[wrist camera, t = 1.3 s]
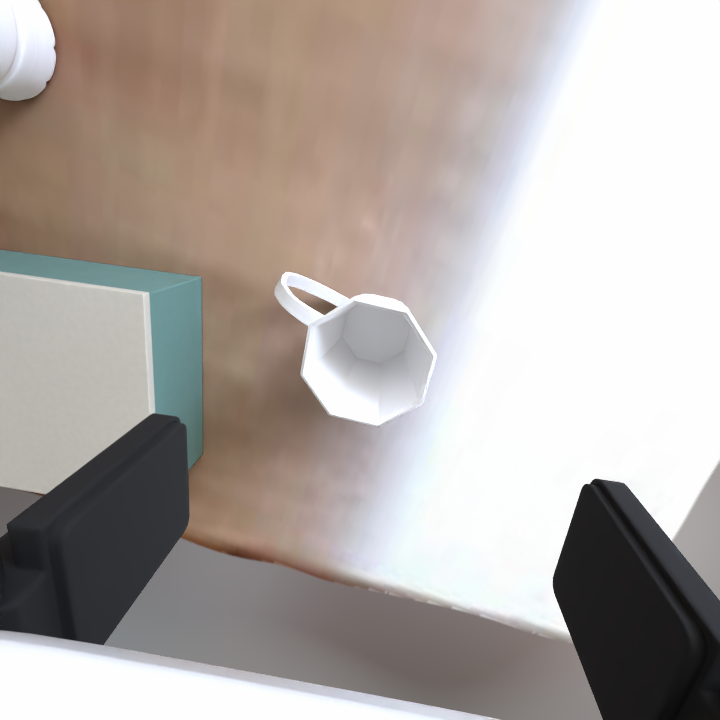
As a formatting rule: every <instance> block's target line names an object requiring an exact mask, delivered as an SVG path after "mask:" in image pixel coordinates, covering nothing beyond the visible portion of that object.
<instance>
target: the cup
mask: <svg viewBox="0 0 720 720" xmlns="http://www.w3.org/2000/svg"><path fill="white" fill-rule="evenodd" d="M287 286H293V287H296V288H298V289H301V290H304V291H306V292H308V293H311V294H313V295H315V296H317V297H320V298H322V299H324V300H326V301H328V302H330V303H332V304H334V305H336V306H337V308H335V309H334V310H332V311H331V312H329V313H327V314H326V315H322V314H321V313H319V312H317V311H315V310H314V309H312V308H311V307H309V306H307V305H306V304H304V303H303V302H301V301H300V300H298V299H297V298H296V297H295V296H294V295H293V294H292V292H291V291H290V289H289V288H288V287H287ZM274 295H275V296H276V298H277V299H278V301H279V303H280V304H281V305H282V306H283V307H284V308H285V309H286V310H287V311H288V312H289V313H290V314H292V315H293V316H294V317H296V318H297V319H299V320H300V321H301V322H303V323H304V324H306V325H307V326H308V332H307V338H306V343H305V349H304V355H303V360H302V366H301V372H300V375H301V377H302V378H303V380H304V381H305V382H306V384H307V385H308V387H309V388H310V389H311V391H312V392H313V394H314V395H315V396H316V398H317V399H318V401H319V402H320V403H321V405H322V406H323V408H324V409H325V410H326V412H327V413H328V415H329V416H333V417H337V418H342V419H346V420H350V421H354V422H358V423H362V424H366V425H370V426H375V427H380V426H382V425H384V424H386V423H388V422H390V421H392V420H394V419H396V418H397V417H399V416H401V415H403V414H405V413H407V412H409V411H411V410H413V409H415V408H416V407H418V406H420V405H422V404H423V402H424V399H425V396H426V392H427V389H428V385H429V382H430V378H431V375H432V372H433V368H434V365H435V361H436V358H437V354H436V353H435V351H434V350H433V348H432V346H431V345H430V343H429V341H428V340H427V338H426V337H425V335H424V333H423V332H422V330H421V329H420V327H419V325H418V324H417V322H416V320H415V319H414V317H413V316H412V314H411V312H410V311H409V309H408V308H407V307H406V306H405V305H404V304H403V303H402V302H400V301H397V300H395V299H391V298H387V297H383V296H378V295H374V294H371V295H370V294H363V295H359V296H355V297H353V298H351V299H350V300H349V299H348V298H346V297H345V296H343V295H341V294H339V293H337V292H336V291H334V290H332V289H330V288H328V287H326V286H324V285H322V284H320V283H317V282H315V281H313V280H311V279H309V278H307V277H304V276H301V275H299V274H296V273H289V272H286V273H284V274H283V275H282V277H281V278H280V280H279V282H278V283H277V285H276V286H275V292H274Z"/></svg>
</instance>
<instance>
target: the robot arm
mask: <svg viewBox="0 0 720 720" xmlns="http://www.w3.org/2000/svg"><path fill="white" fill-rule="evenodd" d="M188 521H189V486H188V454H187V428H186V425H185V424H183V423H181V421H180V419H179V418H178V417H177V416H170V415H164V414H157V413H153V414H151V415H149V416H148V417H147V418H145V419H144V420H143V421H141V422H140V423H139V424H137V425H136V426H135V427H133V428H132V429H131V430H130V431H128V432H127V433H126V434H124V435H123V436H122V437H120V438H119V439H118V440H116V441H115V442H114V443H113V444H111V445H110V446H109V447H107V448H106V449H105V450H103V451H102V452H101V453H99V454H98V455H97V456H95V457H94V458H93V459H92V460H90V461H89V462H88V463H86V464H85V465H84V466H82V467H81V468H80V469H78V470H77V471H76V472H75V473H73V474H72V475H71V476H69V477H68V478H67V479H65V480H64V481H63V482H61V483H60V484H59V485H57V486H56V487H55V488H54V489H52V490H51V491H50V492H48V493H47V494H46V495H44V496H43V497H42V498H40V499H39V500H38V501H37V502H35V503H34V504H33V505H31V506H30V507H29V508H28V509H26V510H25V511H23V512H22V513H21V514H20V515H18V516H17V517H16V518H14V519H13V520H12V521H10V522H9V523H8V524H7V529H8V532H7V533H6V534H5V535H4V536H2V537H1V538H0V720H500V719H495V718H490V717H485V716H480V715H474V714H469V713H464V712H459V711H454V710H449V709H444V708H439V707H433V706H428V705H423V704H418V703H412V702H407V701H402V700H396V699H391V698H386V697H381V696H376V695H370V694H365V693H360V692H354V691H350V690H344V689H339V688H333V687H328V686H323V685H318V684H312V683H307V682H302V681H296V680H291V679H286V678H280V677H275V676H270V675H264V674H259V673H253V672H248V671H242V670H237V669H232V668H226V667H221V666H215V665H210V664H204V663H199V662H193V661H188V660H183V659H177V658H171V657H166V656H161V655H155V654H150V653H144V652H139V651H133V650H128V649H122V648H117V647H110V646H104V643H105V642H106V640H107V639H108V638H109V636H110V635H111V633H112V632H113V631H114V629H115V628H116V626H117V625H118V624H119V622H120V621H121V619H122V618H123V617H124V615H125V614H126V612H127V611H128V610H129V608H130V607H131V605H132V604H133V602H134V601H135V600H136V598H137V597H138V595H139V594H140V593H141V591H142V590H143V589H144V587H145V586H146V584H147V583H148V582H149V580H150V579H151V578H152V576H153V575H154V573H155V572H156V571H157V569H158V568H159V566H160V565H161V564H162V562H163V561H164V559H165V558H166V556H167V555H168V554H169V552H170V551H171V550H172V548H173V547H174V545H175V544H176V543H177V541H178V540H179V538H180V537H181V536H182V534H183V533H184V531H185V529H186V527H187V525H188ZM553 589H554V593H555V596H556V599H557V602H558V604H559V607H560V609H561V612H562V614H563V617H564V620H565V622H566V625H567V627H568V630H569V633H570V635H571V638H572V640H573V643H574V646H575V648H576V651H577V653H578V656H579V659H580V661H581V663H582V666H583V669H584V671H585V674H586V677H587V679H588V682H589V684H590V687H591V690H592V692H593V695H594V697H595V700H596V702H597V705H598V708H599V710H600V713H601V715H602V718H603V720H720V601H719V600H718V598H717V597H716V596H715V594H714V593H713V592H712V591H711V589H710V588H709V587H708V586H707V584H706V583H705V582H704V581H703V579H702V578H701V577H700V576H699V575H698V573H697V572H696V571H695V570H694V568H693V567H692V566H691V565H690V563H689V562H688V561H687V560H686V558H685V557H684V556H683V555H682V554H681V552H680V551H679V550H678V549H677V547H676V546H675V545H674V544H673V542H672V541H671V540H670V539H669V537H668V536H667V535H666V534H665V533H664V531H663V530H662V529H661V528H660V526H659V525H658V524H657V523H656V521H655V520H654V519H653V518H652V516H651V515H650V514H649V513H648V512H647V510H646V509H645V508H644V507H643V505H642V504H641V503H640V502H639V500H638V499H637V498H636V497H635V495H634V494H633V493H632V492H631V491H630V489H629V488H628V487H627V486H626V485H625V484H624V483H621V482H614V481H607V480H601V479H594V480H593V481H592V482H591V483H590V484H585V485H584V486H583V487H582V490H581V493H580V496H579V499H578V502H577V505H576V508H575V511H574V514H573V517H572V520H571V523H570V526H569V530H568V533H567V536H566V539H565V542H564V545H563V548H562V551H561V554H560V557H559V560H558V563H557V567H556V570H555V573H554V576H553Z"/></svg>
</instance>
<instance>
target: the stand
mask: <svg viewBox="0 0 720 720" xmlns="http://www.w3.org/2000/svg"><path fill="white" fill-rule="evenodd" d="M153 413H157V414H164V415H170V416H177V417H178V418H179V419H180V421H181V423H183V424H185V425H186V428H187V454H188V470H189V469H190V468H191V467H192V466H193V465H194V463H195V462H196V461H197V460H198V459H199V457H200V456H201V455H202V454H203V398H202V280H201V277H197V276H190V275H183V274H175V273H168V272H161V271H154V270H146V269H139V268H132V267H124V266H117V265H110V264H103V263H95V262H88V261H81V260H73V259H66V258H59V257H52V256H44V255H37V254H30V253H22V252H15V251H8V250H0V486H1V487H7V488H12V489H18V490H24V491H30V492H36V493H41V494H47V493H48V492H50V491H51V490H52V489H54V488H55V487H56V486H57V485H59V484H60V483H61V482H63V481H64V480H65V479H67V478H68V477H69V476H71V475H72V474H73V473H75V472H76V471H77V470H78V469H80V468H81V467H82V466H84V465H85V464H86V463H88V462H89V461H90V460H92V459H93V458H94V457H95V456H97V455H98V454H99V453H101V452H102V451H103V450H105V449H106V448H107V447H109V446H110V445H111V444H113V443H114V442H115V441H116V440H118V439H119V438H120V437H122V436H123V435H124V434H126V433H127V432H128V431H130V430H131V429H132V428H133V427H135V426H136V425H137V424H139V423H140V422H141V421H143V420H144V419H145V418H147V417H148V416H149V415H151V414H153Z"/></svg>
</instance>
